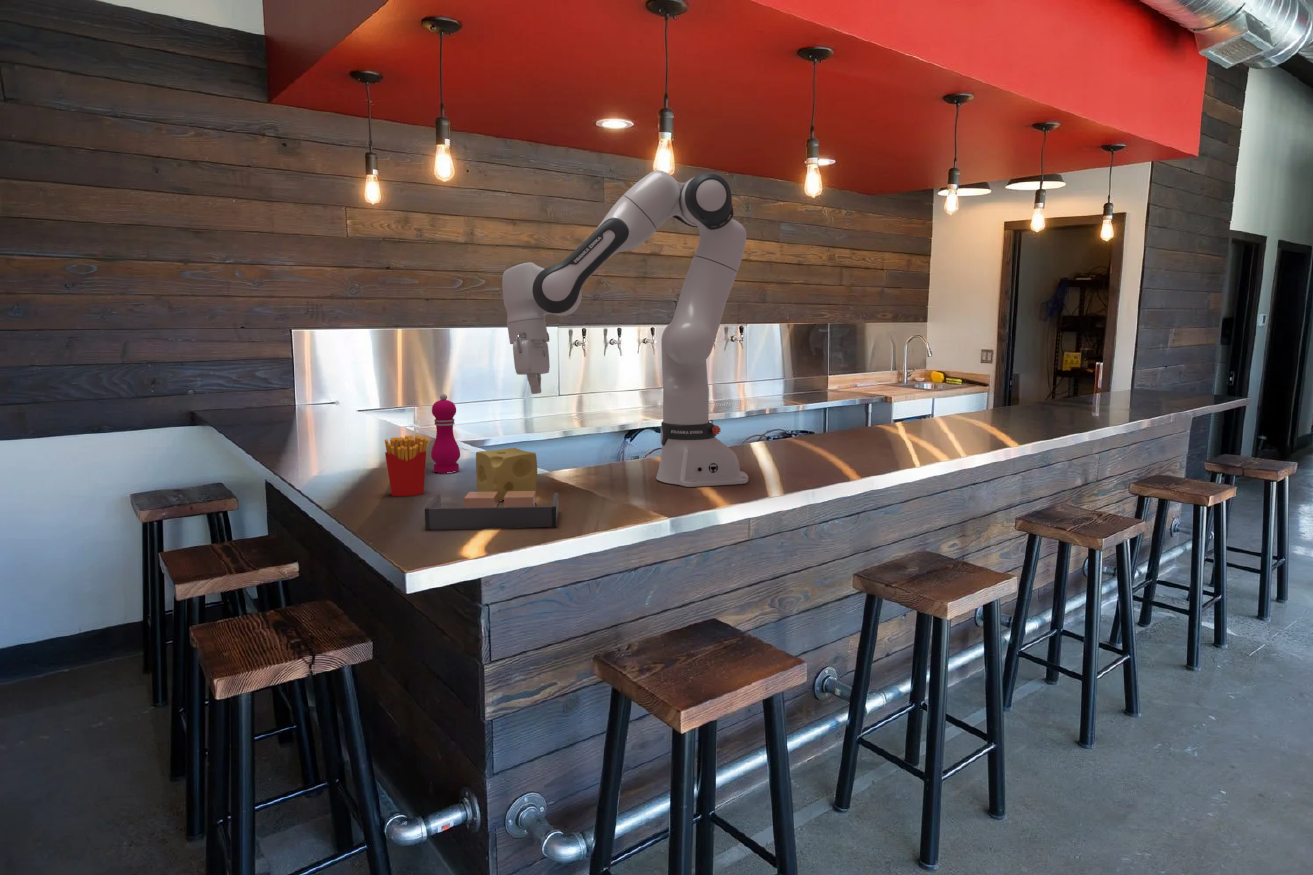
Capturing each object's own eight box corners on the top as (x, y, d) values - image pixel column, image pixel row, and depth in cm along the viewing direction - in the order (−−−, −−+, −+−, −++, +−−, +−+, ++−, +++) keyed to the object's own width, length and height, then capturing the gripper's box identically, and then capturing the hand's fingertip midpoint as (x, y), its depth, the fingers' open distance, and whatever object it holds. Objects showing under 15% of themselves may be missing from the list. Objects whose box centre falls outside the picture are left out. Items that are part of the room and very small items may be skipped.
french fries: (387, 497, 175) (384, 439, 173) (386, 493, 179) (383, 436, 177) (430, 494, 178) (428, 436, 176) (428, 490, 182) (426, 434, 180)
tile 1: (498, 505, 170) (497, 491, 169) (493, 512, 164) (493, 498, 163) (469, 505, 169) (469, 491, 169) (464, 512, 163) (464, 498, 163)
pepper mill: (453, 474, 200) (450, 395, 196) (426, 473, 201) (423, 394, 198) (465, 469, 206) (462, 392, 203) (439, 468, 208) (436, 392, 205)
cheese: (495, 503, 170) (493, 457, 169) (474, 494, 179) (473, 450, 177) (538, 497, 176) (537, 452, 175) (516, 488, 185) (515, 446, 183)
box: (558, 511, 163) (558, 492, 162) (556, 527, 151) (555, 506, 151) (437, 513, 161) (436, 494, 160) (425, 529, 149) (424, 509, 148)
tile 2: (536, 504, 170) (535, 490, 170) (533, 511, 164) (532, 497, 164) (507, 504, 170) (507, 491, 170) (504, 511, 164) (503, 497, 164)
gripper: (530, 330, 173) (540, 392, 174) (550, 334, 194) (558, 391, 195) (502, 334, 174) (512, 396, 175) (525, 338, 194) (533, 394, 195)
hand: (536, 393), depth 185 cm, fingers closed
